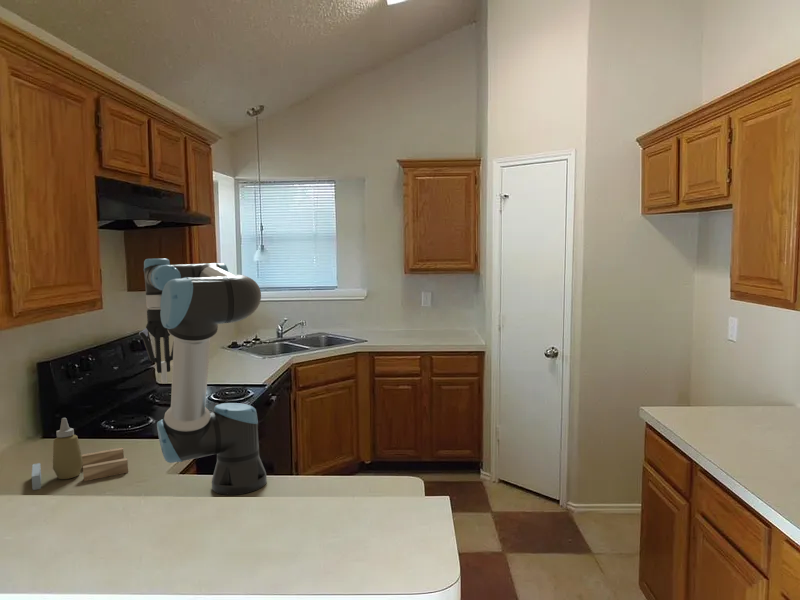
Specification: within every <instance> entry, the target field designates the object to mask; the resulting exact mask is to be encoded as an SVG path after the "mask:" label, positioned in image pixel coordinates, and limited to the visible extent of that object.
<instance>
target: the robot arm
mask: <svg viewBox="0 0 800 600" xmlns="http://www.w3.org/2000/svg"><path fill="white" fill-rule="evenodd" d="M143 274H144V283H145V284H144V286H145V301H146V308H148V309H147V310H146V320H147V324H146V325H145V329H143V330H141V331H139V332H138V335H139V336H140V337H141V338H142V341H143V343H144V347H145V350H146V352H147V355H148V359H149V360H150V361H151V362H154V363H156V365H155V366H156V372H157V373H158V374H160V382H161V384H162V385H163V384H164V385H165V384H168V382H169V380H168V373H169V372H171V361H172V372H171V373H172V374H171V394H170V395H171V396H170V397H171V398H170V407H169V408H168V409H167V410H166V411H165V413H164V417H163V419H159V421H157V422H156V429H157V434H158V440H159V444H160V448H161V453H162V456H163V459H164V461H165V462H167V463H169V464H172V463H173V464H174V463H182V462H184V461H185V462H186V461H190V460H194V459H199V458H204V457H208V456H212V455H216V464H215V467H214V471H213V474H212V475H213V476H212V478H211V489H212V491H213V492H214V493H216V494H220V495H224V496H236V495H244V494H248V493H252V492H255V491H258V490H259V489H261V488H263V487H264V486H265V485H267V480H268V479H267V472H266V469H265V467H264V464H263V462H262V458H261V457H260V447H259V446H260V445H259V430H258V429H259V420H258V413H257V408H255V407H254V406H252V405H250V404H247V403H239V402H238V403H237V402H224V403H219V404H216V405H214V407H213V411H211V412H210V410H209V409H208V408H207V407H206V403H207V402H206V399H207V389H208V388H207V387H208V374H209V362H210V360H209V359H210V351H211V350H210V349H211V348H210V347H211V339H212V338H213V337H215V335H217V333H218V328H219V327H218V326H219V325H221V324H230V323H231V324H232V323H237V322H240V321H243V320H245V319H247V318H249V317H250V316H251V315H253V314H254V313H255V312H256V310H257V309H258V307H259V306H260V304H261V300H262V291H261V289H260V286H259V284H258V283H257V282H256V281H255V280H254V279H252V278H251V277H249V276H246V275H244V274H233V273H231V272H229V269H228V267H227V264H225V263H222V262H219V263H218V262H211V263H188V264H187V263H185V264H183V263H181V264H180V263H179V264H177V263H176V264H171V263H170V259H168V258H146V259H145V260H144V261H143ZM148 332H149V333H148ZM149 334H150V335H151V336H152V337H153V341H154V349H155V351H154V352H155V356H154V352H153V349H152V346H151V343H150V340H149V338H148V336H149ZM170 336H171V337H173V342H172V346H171V347H172V348H171V351H170ZM161 338H162V340H163V352H164V353H163V354H164V360H163V361H162V351H161V350H162V349H161ZM170 352H171V353H170Z"/></svg>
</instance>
